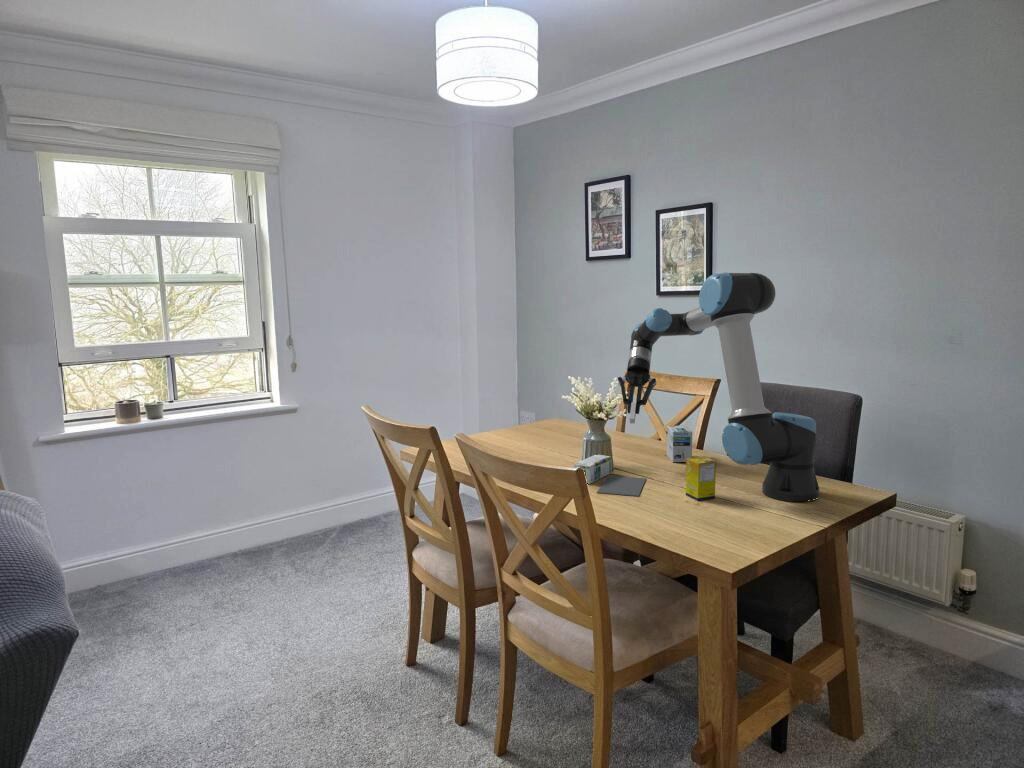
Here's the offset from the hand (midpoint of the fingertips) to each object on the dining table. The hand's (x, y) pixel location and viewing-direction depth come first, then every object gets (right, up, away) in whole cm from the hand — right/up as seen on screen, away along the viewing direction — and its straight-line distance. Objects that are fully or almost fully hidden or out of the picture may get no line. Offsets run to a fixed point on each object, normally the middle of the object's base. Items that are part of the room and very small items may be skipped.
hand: (632, 421), depth 219 cm
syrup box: (-9, -14, -1) cm, 16 cm away
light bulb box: (+19, -14, +15) cm, 28 cm away
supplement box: (+15, -20, -26) cm, 36 cm away
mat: (-6, -19, -16) cm, 25 cm away
